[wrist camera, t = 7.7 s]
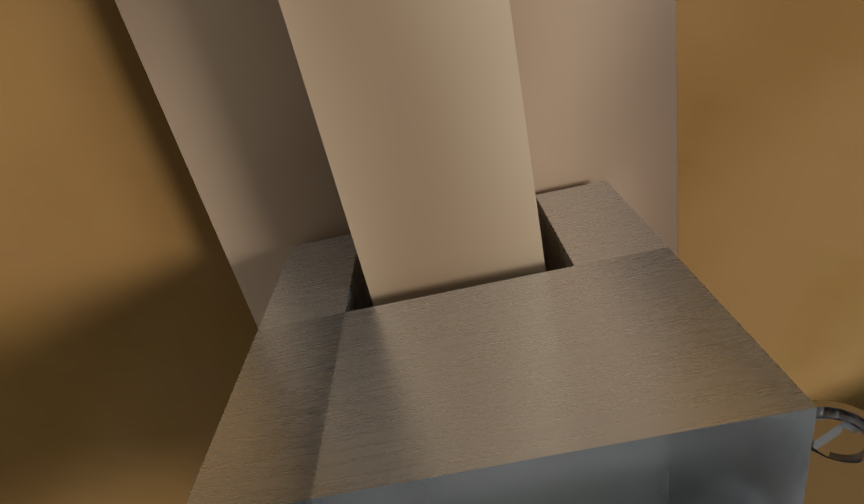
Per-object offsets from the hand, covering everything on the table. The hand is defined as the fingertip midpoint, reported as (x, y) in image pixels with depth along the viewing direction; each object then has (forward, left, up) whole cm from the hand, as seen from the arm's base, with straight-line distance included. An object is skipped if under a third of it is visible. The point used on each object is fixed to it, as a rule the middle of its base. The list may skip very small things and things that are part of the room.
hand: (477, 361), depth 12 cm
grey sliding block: (0, 0, -1) cm, 1 cm away
